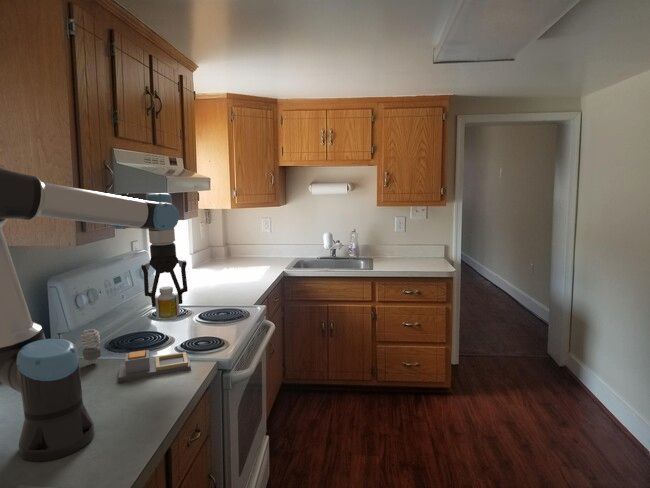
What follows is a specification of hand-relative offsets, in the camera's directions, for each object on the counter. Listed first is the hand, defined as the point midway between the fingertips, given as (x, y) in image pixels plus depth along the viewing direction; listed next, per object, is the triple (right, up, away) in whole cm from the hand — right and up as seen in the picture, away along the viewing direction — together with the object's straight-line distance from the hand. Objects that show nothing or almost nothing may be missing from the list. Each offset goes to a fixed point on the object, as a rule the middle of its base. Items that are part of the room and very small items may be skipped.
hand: (168, 315), depth 144 cm
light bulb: (-27, -17, +6) cm, 33 cm away
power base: (-4, -17, +1) cm, 18 cm away
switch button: (-9, -15, -1) cm, 18 cm away
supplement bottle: (0, -1, 0) cm, 1 cm away
